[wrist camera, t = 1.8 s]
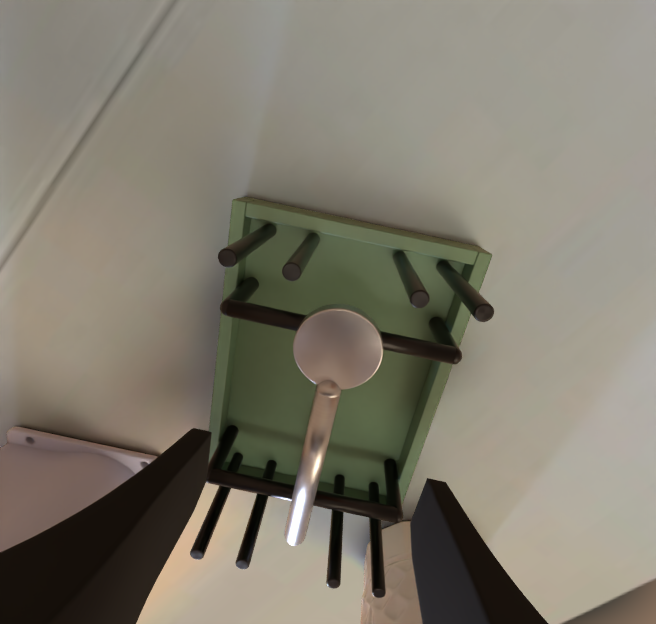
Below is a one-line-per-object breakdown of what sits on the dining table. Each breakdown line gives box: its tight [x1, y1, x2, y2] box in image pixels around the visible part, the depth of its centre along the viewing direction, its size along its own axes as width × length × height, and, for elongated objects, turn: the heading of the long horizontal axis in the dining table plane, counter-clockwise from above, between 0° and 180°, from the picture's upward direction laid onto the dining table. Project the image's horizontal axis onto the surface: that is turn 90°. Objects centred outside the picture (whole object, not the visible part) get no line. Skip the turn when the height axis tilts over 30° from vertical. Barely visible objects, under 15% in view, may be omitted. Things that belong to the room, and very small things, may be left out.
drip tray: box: [208, 197, 492, 504], centre depth 19 cm, size 16×11×2 cm
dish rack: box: [190, 223, 494, 598], centre depth 17 cm, size 14×10×6 cm
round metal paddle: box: [285, 304, 383, 546], centre depth 16 cm, size 12×3×1 cm, turn 169°
